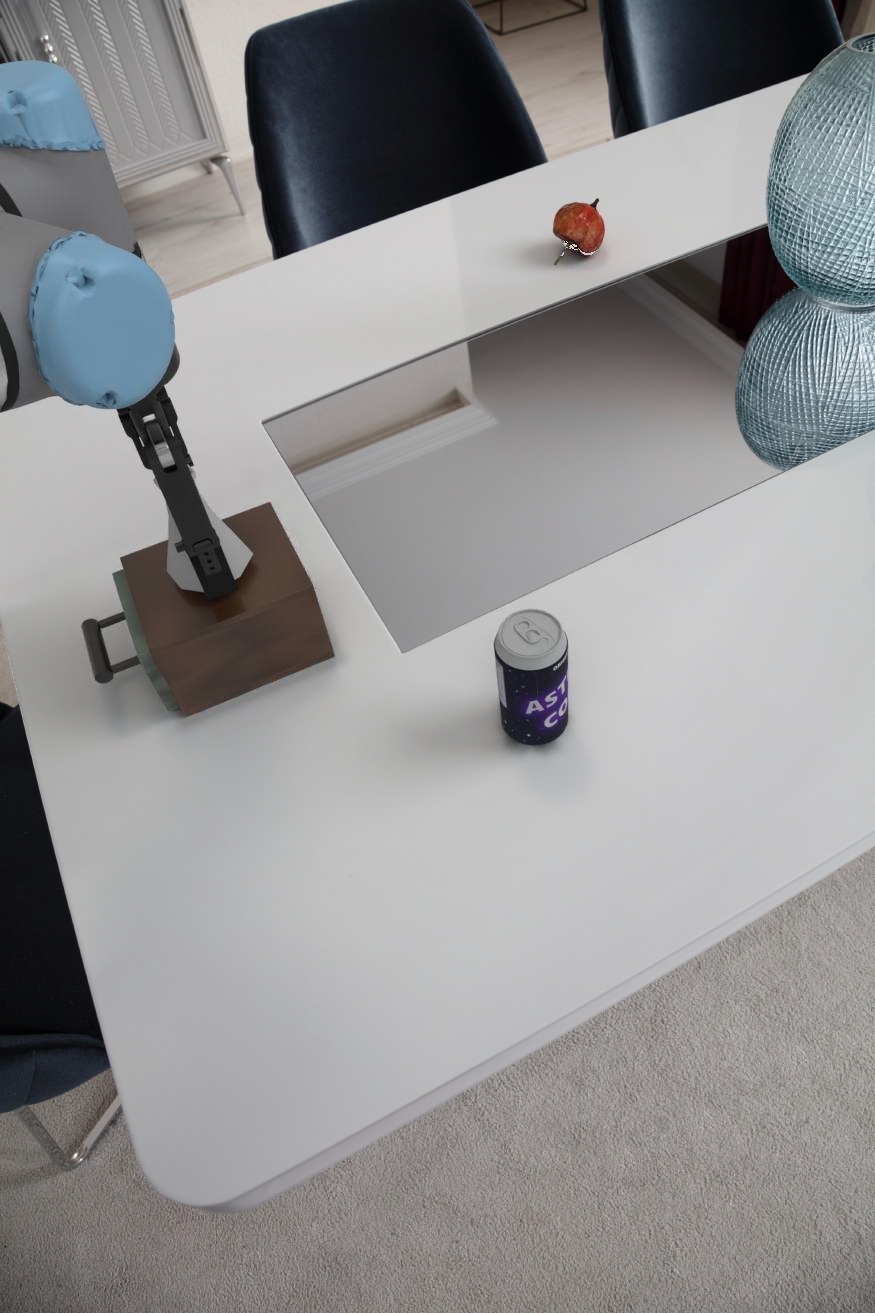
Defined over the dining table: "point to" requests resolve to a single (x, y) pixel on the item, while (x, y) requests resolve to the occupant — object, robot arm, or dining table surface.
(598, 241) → the pomegranate
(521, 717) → the beverage can
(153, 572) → the cabinet
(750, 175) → the dining table surface
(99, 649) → the drawer
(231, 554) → the flask
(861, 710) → the dining table surface
